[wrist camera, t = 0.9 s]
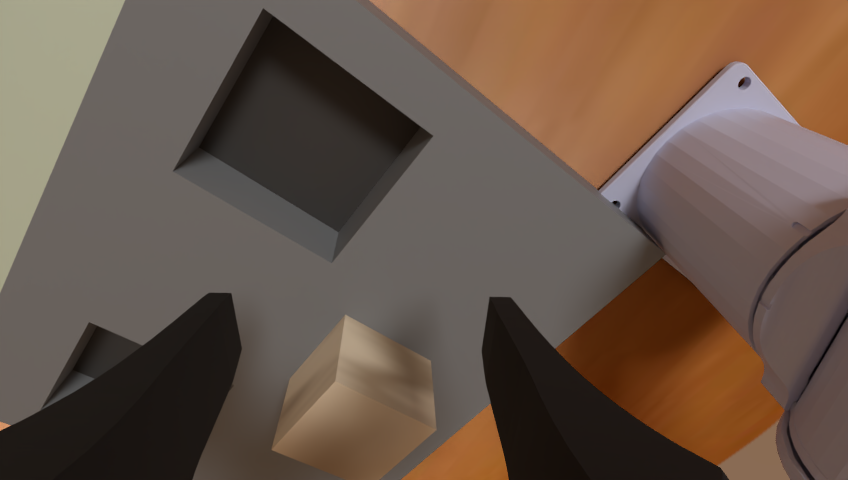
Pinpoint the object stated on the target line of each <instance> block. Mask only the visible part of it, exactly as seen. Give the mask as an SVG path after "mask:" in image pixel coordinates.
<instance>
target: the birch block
mask: <svg viewBox="0 0 848 480" xmlns="http://www.w3.org/2000/svg"><path fill="white" fill-rule="evenodd" d="M436 430H437V429H436V417H435V405H434V393H433V381H432V368H431V361H430V360H428V359H426V358H425V357H423V356H421V355H419V354H417V353H415V352H414V351H412V350H410V349H408V348H406V347H404V346H402V345H401V344H399V343H397V342H395V341H393V340H391V339H390V338H388V337H386V336H384V335H382V334H380V333H378V332H377V331H375V330H373V329H371V328H369V327H367V326H366V325H364V324H362V323H360V322H358V321H356V320H354V319H353V318H351V317H349V316H347V315H345V316H344V317H343V318H342V319H341V320H340V321H339V322H338V324H337V325H336V326H335V327H334V328H333V329H332V331H331V332H330V333H329V334H328V335H327V336H326V337H325V339H324V340H323V341H322V342H321V343H320V344H319V345H318V347H317V348H316V349H315V350H314V351H313V352H312V354H311V355H310V356H309V357H308V358H307V359H306V360H305V362H304V363H303V364H302V365H301V366H300V367H299V369H298V370H297V371H296V372H295V373H294V374H293V375H292V377H291V378H290V380H289V384H288V387H287V391H286V395H285V399H284V403H283V407H282V411H281V414H280V418H279V422H278V426H277V430H276V434H275V437H274V441H273V445H272V449H271V450H273V451H275V452H278V453H280V454H283V455H285V456H288V457H290V458H293V459H295V460H298V461H300V462H303V463H305V464H308V465H310V466H313V467H315V468H318V469H320V470H323V471H325V472H328V473H330V474H333V475H335V476H338V477H340V478H343V479H345V480H380V479H381V478H382V477H383V476H384V475H385V474H387V473H388V472H389V471H390V470H391V469H392V468H393V467H395V466H396V465H397V464H398V463H399V462H400V461H401V460H403V459H404V458H405V457H406V456H407V455H408V454H409V453H411V452H412V451H413V450H414V449H415V448H416V447H417V446H419V445H420V444H421V443H422V442H423V441H424V440H425V439H427V438H428V437H429V436H430V435H431V434H432V433H434V432H435V431H436Z"/></svg>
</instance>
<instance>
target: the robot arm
mask: <svg viewBox="0 0 848 480" xmlns="http://www.w3.org/2000/svg"><path fill="white" fill-rule="evenodd" d="M744 77H745V82H744V84H743V85H742V86H740V87H738V83H739V81H740V80H741V79H742V78H744ZM599 192H600V194H601V195H603V196H604V197H605V198H606V199H608V200H609V201H610V202H613V201H617V203H616V206H617V207H618V209H620V210H621V211H622V212H623V213H624V214H626V215H627V216H628V217H629V218H631V219H632V220H633V221H634V222H635V223H637V224H638V225H639V226H640V227H641V228H642V229H643V230H644V231H645V232H646V233H647V234H648V235H649V236H650V237H651V238H652V239H653V241H654V242H655V243H656V244H657V245H658V246H659V247H660V248H661V249H662V250H663V251H664V253H665V254H666V255H665V256H664V257H662V258H663V259H664V260H665V261H667V262H668V263H669V264H670V265H671V266H673V267H674V268H675V269H676V270H678V271H679V272H680V273H681V274H683V275H684V276H685V277H686V278H688V279H689V280H690V281H691V282H692V283H693V284H694V285H695V286H696V287H697V289H698V290H699V291H700V292H701V293H702V294H703V295H704V296H705V297H706V298H707V299H708V301H709V302H710V303H711V304H712V305H713V306H714V307H715V308H716V309H717V310H718V311H719V312H720V314H721V315H722V316H723V317H724V318H725V319H726V320H727V321H728V322H729V323H730V324H731V326H732V327H733V328H734V329H735V330H736V331H737V332H738V333H739V334H740V335H741V336H742V338H743V339H744V340H745V341H746V342H747V343H748V344H749V345H750V346H751V347H752V348H753V350H754V351H755V352H756V353H757V354H758V355H759V356H760V357H761V359H762V361H763V363H764V375H763V378H762V380H761V383H762V384H763V385H764V387H765V388H766V389H767V390H768V391H769V392H770V393H771V395H772V396H773V397H774V398H775V399H776V400H777V402H778V403H779V404H780V405H781V406H782V407H783V408H784V410H785V411H784V413H783V415H782V416H781V418H780V421H779V423H778V425H777V432H776V445H777V451H778V454H779V457H780V460H781V462H782V465H783V467H784V469H785V471H786V473H787V475H788V476H789V478H790V480H848V145H845V144H843V143H840V142H838V141H835V140H833V139H831V138H828V137H826V136H823V135H821V134H818V133H816V132H813V131H811V130H808V129H806V128H804V127H801V126H800V125H799V124H798V123H797V122H796V121H795V119H794V118H793V117H792V116H791V115H790V114H789V112H788V111H787V110H786V109H785V108H784V107H783V106H782V104H781V103H780V102H779V101H778V100H777V99H776V97H775V96H774V95H773V94H772V93H771V92H770V91H769V89H768V88H767V87H766V86H765V85H764V84H763V82H762V81H761V80H760V79H759V78H758V77H757V76H756V74H755V73H754V72H753V71H752V70H751V69H750V67H749V66H748V65H746V64H745V63H742V62H732V63H730V64H728V65H727V66H726V67H725V68H724V69H723V70H722V71H721V72H720V73H719V74H717V75H716V76H715V77H714V78H713V79H712V80H711V81H710V82H709V83H708V84H707V85H706V86H705V87H704V88H703V89H702V90H701V91H700V92H699V93H698V94H697V95H696V96H695V97H694V98H693V99H692V100H691V101H690V102H689V103H688V104H687V105H686V106H685V107H684V108H683V109H682V110H681V111H680V112H679V113H678V114H676V115H675V116H674V117H673V118H672V119H671V120H670V121H669V122H668V123H667V124H666V125H665V126H664V127H663V128H662V129H661V130H660V131H659V132H658V133H657V134H656V135H655V136H654V137H653V138H652V139H651V140H650V141H649V142H648V143H647V144H646V145H645V146H644V147H643V148H642V149H641V150H640V151H639V152H638V153H637V154H635V155H634V156H633V157H632V158H631V159H630V160H629V161H628V162H627V163H626V164H625V165H624V166H623V167H622V168H621V169H620V170H619V171H618V172H617V173H616V174H615V175H614V176H613V177H612V178H611V179H610V180H609V181H608V182H607V183H606V184H605V185H604V186H603V187H602V188H601V189H600V190H599ZM241 351H242V346H241V341H240V335H239V330H238V325H237V320H236V315H235V309H234V304H233V299H232V294H231V293H208V294H206V295H205V296H204V297H202V298H201V299H200V300H199V301H197V302H196V303H195V304H194V305H193V306H191V307H190V308H189V309H188V310H187V311H185V312H184V313H183V314H182V315H181V316H179V317H178V318H177V319H176V320H175V321H173V322H172V323H171V324H170V325H168V326H167V327H166V328H165V329H163V330H162V331H161V332H160V333H158V334H157V335H156V336H155V337H153V338H152V339H151V340H149V341H148V342H147V343H145V344H144V345H143V346H141V347H140V348H139V349H137V350H136V351H135V352H133V353H132V354H130V355H129V356H128V357H126V358H125V359H124V360H122V361H121V362H120V363H118V364H117V365H115V366H114V367H112V368H111V369H109V370H108V371H106V372H105V373H103V374H102V375H100V376H99V377H97V378H96V379H94V380H92V381H91V382H89V383H88V384H86V385H84V386H83V387H81V388H80V389H78V390H76V391H75V392H73V393H71V394H69V395H68V396H66V397H64V398H62V399H60V400H59V401H57V402H55V403H53V404H51V405H49V406H48V407H46V408H44V409H42V410H40V411H39V412H37V413H35V414H33V415H31V416H29V417H27V418H25V419H24V420H22V421H19V422H17V423H15V424H13V425H11V426H9V427H7V428H5V429H3V430H1V431H0V480H193V477H194V473H195V471H196V468H197V465H198V463H199V460H200V458H201V455H202V453H203V450H204V448H205V446H206V443H207V441H208V439H209V437H210V434H211V432H212V430H213V427H214V425H215V423H216V420H217V418H218V416H219V413H220V411H221V409H222V407H223V404H224V402H225V399H226V397H227V395H228V392H229V390H230V388H231V385H232V383H233V380H234V376H235V373H236V369H237V366H238V362H239V358H240V354H241ZM482 359H483V367H484V374H485V382H486V386H487V390H488V394H489V398H490V402H491V406H492V410H493V414H494V418H495V421H496V425H497V429H498V433H499V437H500V441H501V444H502V448H503V452H504V456H505V461H506V466H507V471H508V477H509V480H729V479H728V478H727V476H726V475H725V473H724V472H723V471H722V469H721V468H720V467H718V466H716V465H714V464H713V463H711V462H709V461H707V460H705V459H703V458H701V457H700V456H698V455H696V454H694V453H692V452H690V451H689V450H687V449H685V448H683V447H681V446H679V445H678V444H676V443H674V442H673V441H671V440H669V439H668V438H666V437H664V436H663V435H661V434H660V433H658V432H656V431H655V430H653V429H651V428H650V427H648V426H647V425H645V424H644V423H642V422H641V421H639V420H638V419H636V418H635V417H634V416H632V415H631V414H629V413H628V412H627V411H625V410H624V409H623V408H621V407H620V406H618V405H617V404H616V403H614V402H613V401H612V400H610V399H609V398H608V397H607V396H605V395H604V394H603V393H602V392H600V391H599V390H598V389H597V388H596V387H594V386H593V385H592V384H591V383H590V382H589V381H587V380H586V379H585V378H584V377H583V376H582V375H581V374H579V373H578V372H577V371H576V370H575V369H574V368H573V367H572V366H571V365H570V364H569V363H568V362H567V361H566V360H565V359H564V358H563V357H562V356H561V355H560V354H559V353H558V352H557V351H556V350H555V349H554V347H553V346H552V345H551V344H550V343H549V342H548V341H547V340H546V339H545V337H544V336H543V335H542V334H541V333H540V332H539V331H538V329H537V328H536V327H535V326H534V325H533V323H532V322H531V321H530V320H529V319H528V317H527V316H526V315H525V314H524V312H523V311H522V310H521V309H520V308H519V306H518V305H517V304H516V303H515V301H514V300H513V299H512V298H511V297H489V304H488V310H487V317H486V324H485V330H484V337H483V344H482Z"/></svg>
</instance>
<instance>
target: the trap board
mask: <svg viewBox="0 0 848 480" xmlns="http://www.w3.org/2000/svg"><path fill="white" fill-rule="evenodd" d="M665 255H666V254H665V253H664V251H663V250H662V249H661V248H660V247H659V246H658V245H657V244H656V243H655V242H654V241H653V239H652V238H651V237H650V236H649V235H648V234H647V233H646V232H645V231H644V230H643V229H642V228H641V227H640V226H639V225H638V224H637V223H635V222H634V221H633V220H632V219H631V218H629V217H628V216H627V215H626V214H624V213H623V212H622V211H621V210H620V209H618V207H617V206H616V205H615V204H614V203H613V202H610V201H609V200H608V199H606V198H605V197H604V196H603V195H601V194H600V192H599V191H598V190H597V189H596V188H595V187H594V186H592V185H591V184H590V183H589V182H588V181H586V180H585V179H584V178H583V177H582V176H580V175H579V174H578V173H577V172H575V171H574V170H573V169H572V168H571V167H569V166H568V165H567V164H566V163H565V162H563V161H562V160H561V159H560V158H559V157H557V156H556V155H555V154H554V153H553V152H551V151H550V150H549V149H548V148H546V147H545V146H544V145H543V144H542V143H540V142H539V141H538V140H537V139H536V138H534V137H533V136H532V135H531V134H530V133H528V132H527V131H526V130H525V129H524V128H522V127H521V126H520V125H519V124H518V123H516V122H515V121H514V120H513V119H511V118H510V117H509V116H508V115H507V114H505V113H504V112H503V111H502V110H501V109H499V108H498V107H497V106H496V105H495V104H493V103H492V102H491V101H490V100H489V99H487V98H486V97H485V96H484V95H482V94H481V93H480V92H479V91H478V90H476V89H475V88H474V87H473V86H472V85H470V84H469V83H468V82H467V81H466V80H464V79H463V78H462V77H461V76H460V75H458V74H457V73H456V72H455V71H453V70H452V69H451V68H450V67H449V66H447V65H446V64H445V63H444V62H443V61H441V60H440V59H439V58H438V57H437V56H435V55H434V54H433V53H432V52H431V51H429V50H428V49H427V48H426V47H425V46H423V45H422V44H421V43H420V42H418V41H417V40H416V39H415V38H414V37H412V36H411V35H410V34H409V33H408V32H406V31H405V30H404V29H403V28H402V27H400V26H399V25H398V24H397V23H396V22H394V21H393V20H392V19H391V18H389V17H388V16H387V15H386V14H385V13H383V12H382V11H381V10H380V9H379V8H377V7H376V6H375V5H374V4H373V3H371V2H370V1H369V0H0V422H3V423H6V424H9V425H13V424H15V423H17V422H19V421H22V420H24V419H25V418H27V417H29V416H31V415H33V414H35V413H37V412H39V411H40V410H42V409H44V408H46V407H48V406H49V405H51V404H53V403H55V402H57V401H59V400H60V399H62V398H64V397H66V396H68V395H69V394H71V393H73V392H75V391H76V390H78V389H80V388H81V387H83V386H84V385H86V384H88V383H89V382H91V381H92V380H94V379H96V378H97V377H99V376H100V375H102V374H103V373H105V372H106V371H108V370H109V369H111V368H112V367H114V366H115V365H117V364H118V363H120V362H121V361H122V360H124V359H125V358H126V357H128V356H129V355H130V354H132V353H133V352H135V351H136V350H137V349H139V348H140V347H141V346H143V345H144V344H145V343H147V342H148V341H149V340H151V339H152V338H153V337H155V336H156V335H157V334H158V333H160V332H161V331H162V330H163V329H165V328H166V327H167V326H168V325H170V324H171V323H172V322H173V321H175V320H176V319H177V318H178V317H179V316H181V315H182V314H183V313H184V312H185V311H187V310H188V309H189V308H190V307H191V306H193V305H194V304H195V303H196V302H197V301H199V300H200V299H201V298H202V297H204V296H205V295H206V294H208V293H231V294H232V299H233V304H234V309H235V315H236V320H237V325H238V330H239V335H240V341H241V346H242V351H241V354H240V358H239V362H238V366H237V369H236V373H235V376H234V380H233V383H232V385H231V388H230V390H229V392H228V395H227V397H226V399H225V402H224V404H223V407H222V409H221V411H220V413H219V416H218V418H217V420H216V423H215V425H214V427H213V430H212V432H211V434H210V437H209V439H208V441H207V443H206V446H205V448H204V450H203V453H202V455H201V458H200V460H199V463H198V465H197V468H196V471H195V473H194V477H193V480H345V479H343V478H340V477H338V476H335V475H333V474H330V473H328V472H325V471H323V470H320V469H318V468H315V467H313V466H310V465H308V464H305V463H303V462H300V461H298V460H295V459H293V458H290V457H288V456H285V455H283V454H280V453H278V452H275V451H273V450H271V449H272V445H273V441H274V437H275V434H276V430H277V426H278V422H279V418H280V414H281V411H282V407H283V403H284V399H285V395H286V391H287V387H288V384H289V380H290V378H291V377H292V375H293V374H294V373H295V372H296V371H297V370H298V369H299V367H300V366H301V365H302V364H303V363H304V362H305V360H306V359H307V358H308V357H309V356H310V355H311V354H312V352H313V351H314V350H315V349H316V348H317V347H318V345H319V344H320V343H321V342H322V341H323V340H324V339H325V337H326V336H327V335H328V334H329V333H330V332H331V331H332V329H333V328H334V327H335V326H336V325H337V324H338V322H339V321H340V320H341V319H342V318H343V317H344V316H345V315H347V316H349V317H351V318H353V319H354V320H356V321H358V322H360V323H362V324H364V325H366V326H367V327H369V328H371V329H373V330H375V331H377V332H378V333H380V334H382V335H384V336H386V337H388V338H390V339H391V340H393V341H395V342H397V343H399V344H401V345H402V346H404V347H406V348H408V349H410V350H412V351H414V352H415V353H417V354H419V355H421V356H423V357H425V358H426V359H428V360H430V361H431V368H432V381H433V393H434V405H435V417H436V429H437V430H436V431H435V432H434V433H432V434H431V435H430V436H429V437H428V438H427V439H425V440H424V441H423V442H422V443H421V444H420V445H419V446H417V447H416V448H415V449H414V450H413V451H412V452H411V453H409V454H408V455H407V456H406V457H405V458H404V459H403V460H401V461H400V462H399V463H398V464H397V465H396V466H395V467H393V468H392V469H391V470H390V471H389V472H388V473H387V474H385V475H384V476H383V477H382V478H381V479H380V480H401V479H402V478H403V477H404V476H405V475H407V474H408V473H409V472H410V471H411V470H412V469H414V468H415V467H416V466H417V465H418V464H419V463H421V462H422V461H423V460H424V459H425V458H427V457H428V456H429V455H430V454H431V453H432V452H434V451H435V450H436V449H437V448H438V447H440V446H441V445H442V444H443V443H444V442H445V441H447V440H448V439H449V438H450V437H451V436H453V435H454V434H455V433H456V432H457V431H458V430H460V429H461V428H462V427H463V426H464V425H465V424H467V423H468V422H469V421H470V420H471V419H473V418H474V417H475V416H476V415H477V414H478V413H480V412H481V411H482V410H483V409H484V408H486V407H487V406H488V405H489V404H490V403H491V402H490V398H489V394H488V390H487V386H486V382H485V374H484V367H483V359H482V344H483V337H484V330H485V324H486V317H487V310H488V304H489V297H511V298H512V299H513V300H514V301H515V303H516V304H517V305H518V306H519V308H520V309H521V310H522V311H523V312H524V314H525V315H526V316H527V317H528V319H529V320H530V321H531V322H532V323H533V325H534V326H535V327H536V328H537V329H538V331H539V332H540V333H541V334H542V335H543V336H544V337H545V339H546V340H547V341H548V342H549V343H550V344H551V345H552V346H553V347H554V349H555V348H556V347H557V346H559V345H560V344H561V343H562V342H563V341H564V340H566V339H567V338H568V337H569V336H570V335H572V334H573V333H574V332H575V331H576V330H577V329H579V328H580V327H581V326H582V325H583V324H585V323H586V322H587V321H588V320H589V319H590V318H592V317H593V316H594V315H595V314H596V313H597V312H599V311H600V310H601V309H602V308H603V307H605V306H606V305H607V304H608V303H609V302H610V301H612V300H613V299H614V298H615V297H616V296H618V295H619V294H620V293H621V292H622V291H623V290H625V289H626V288H627V287H628V286H629V285H631V284H632V283H633V282H634V281H635V280H636V279H638V278H639V277H640V276H641V275H642V274H643V273H645V272H646V271H647V270H648V269H649V268H651V267H652V266H653V265H654V264H655V263H656V262H658V261H659V260H660V259H661V258H662V257H664V256H665Z"/></svg>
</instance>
